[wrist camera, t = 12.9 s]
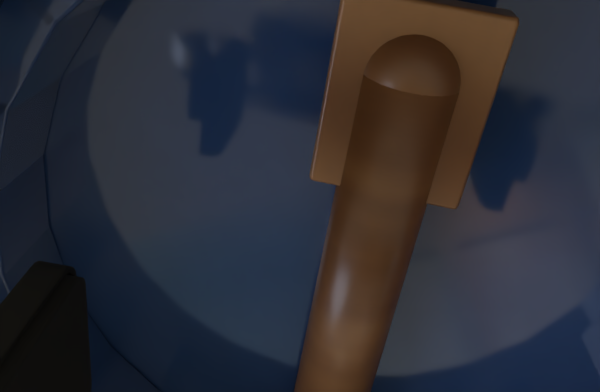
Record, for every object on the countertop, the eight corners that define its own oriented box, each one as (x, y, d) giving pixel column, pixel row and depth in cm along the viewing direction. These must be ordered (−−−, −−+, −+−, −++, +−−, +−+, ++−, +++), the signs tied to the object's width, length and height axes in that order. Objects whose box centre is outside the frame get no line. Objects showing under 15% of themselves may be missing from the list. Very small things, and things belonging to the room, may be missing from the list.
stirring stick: (348, -26, 11) (339, -9, 10) (509, 4, 11) (528, 25, 10) (267, 423, 18) (254, 481, 16) (368, 446, 18) (364, 507, 16)
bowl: (-57, -296, 10) (-366, -422, 6) (1015, -113, 10) (1513, -106, 6) (31, 415, 20) (-64, 565, 15) (582, 522, 19) (643, 708, 15)
